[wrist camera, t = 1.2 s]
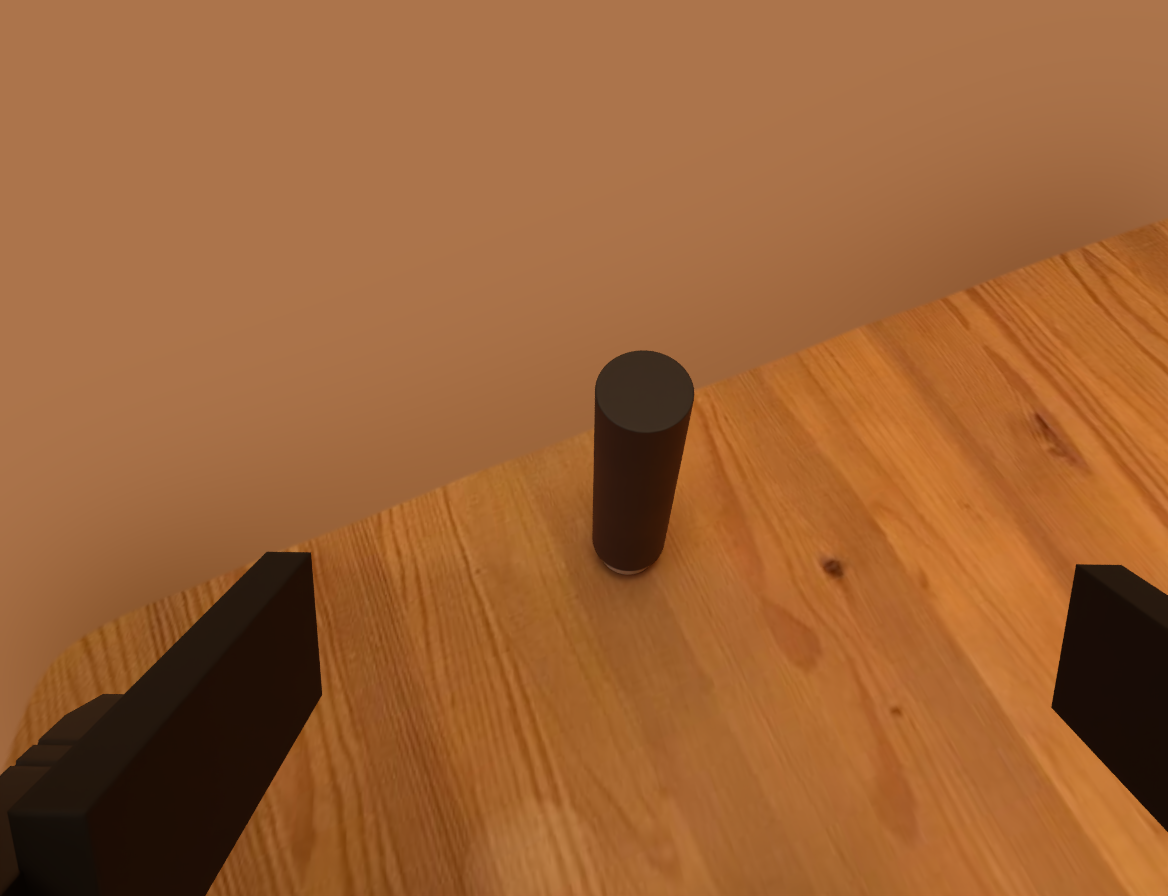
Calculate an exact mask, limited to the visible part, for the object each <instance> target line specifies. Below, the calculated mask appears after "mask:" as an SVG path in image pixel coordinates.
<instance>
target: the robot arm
mask: <svg viewBox="0 0 1168 896" xmlns="http://www.w3.org/2000/svg"><path fill="white" fill-rule="evenodd" d="M321 696H322V686H321V674H320V661H319V648H318V636H317V623H316V610H315V598H314V585H313V573H312V560H311V553H309V552H266V553H265V554H264V555H263V556H262V557H261V558H260V559H259V560H258V561H257V562H256V563H255V564H254V565H253V566H252V567H251V568H250V569H249V570H248V571H247V572H246V573H245V574H244V575H243V576H242V577H241V578H240V579H239V580H238V581H237V582H236V583H235V584H234V585H233V586H232V587H231V588H230V589H229V590H228V591H227V592H226V593H225V594H224V595H223V596H222V597H221V598H220V599H219V600H218V601H217V602H216V603H215V604H214V605H213V606H212V607H211V608H210V609H209V610H208V611H207V612H206V613H205V614H204V615H203V616H202V617H201V618H200V619H199V620H198V621H197V622H196V623H195V624H194V625H193V626H192V627H191V628H190V629H189V630H188V631H187V632H186V633H185V634H184V635H183V636H182V637H181V638H180V639H179V640H178V641H177V642H176V643H175V644H174V645H173V646H172V647H171V648H170V649H169V650H168V651H167V652H166V653H165V654H164V655H163V656H162V657H161V658H160V659H159V660H158V661H157V662H156V663H155V664H154V665H153V666H152V667H151V668H150V669H149V670H148V671H147V672H146V673H145V674H144V675H143V676H142V677H141V678H140V679H139V680H138V681H137V682H136V683H135V684H134V685H133V686H132V687H131V688H130V689H129V690H128V691H127V692H126V693H125V694H102V695H101V696H99V697H97V698H95V699H93V700H92V701H90V702H88V703H86V704H84V705H83V706H81V707H79V708H77V709H75V710H74V711H72V712H70V713H68V714H66V715H65V716H64V717H63V718H62V719H61V720H60V721H58V722H57V723H56V724H55V725H54V726H53V727H52V728H51V729H50V730H49V731H48V732H47V733H46V734H44V735H43V736H42V737H41V738H40V739H39V742H38V745H33V746H32V747H30V748H29V749H28V750H27V751H26V752H25V753H24V754H23V755H22V756H21V757H20V758H19V759H18V760H16V765H15V766H10V767H9V768H8V769H7V770H6V771H5V772H3V773H2V774H1V775H0V896H205V895H206V893H207V892H208V890H209V888H210V887H211V885H212V883H213V881H214V880H215V878H216V876H217V875H218V873H219V871H220V869H221V868H222V866H223V864H224V862H225V861H226V859H227V857H228V856H229V854H230V852H231V850H232V849H233V847H234V845H235V844H236V842H237V840H238V838H239V837H240V835H241V833H242V832H243V830H244V828H245V826H246V825H247V823H248V821H249V820H250V818H251V816H252V814H253V813H254V811H255V809H256V807H257V806H258V804H259V802H260V801H261V799H262V797H263V795H264V794H265V792H266V790H267V789H268V787H269V785H270V783H271V782H272V780H273V778H274V777H275V775H276V773H277V771H278V770H279V768H280V766H281V764H282V763H283V761H284V759H285V758H286V756H287V754H288V752H289V751H290V749H291V747H292V746H293V744H294V742H295V740H296V739H297V737H298V735H299V734H300V732H301V730H302V728H303V727H304V725H305V723H306V721H307V720H308V718H309V716H310V715H311V713H312V711H313V709H314V708H315V706H316V704H317V703H318V701H319V699H320V697H321ZM1051 708H1052V709H1053V710H1054V711H1055V712H1056V713H1057V714H1058V715H1059V716H1060V717H1061V718H1062V719H1063V720H1064V721H1065V723H1066V724H1067V725H1068V726H1069V727H1070V728H1071V729H1072V730H1073V731H1074V732H1075V733H1076V734H1077V735H1078V736H1079V738H1080V739H1081V740H1082V741H1083V742H1084V743H1085V744H1086V745H1087V746H1088V747H1089V748H1090V749H1091V750H1092V751H1093V753H1094V754H1095V755H1096V756H1097V757H1098V758H1099V759H1100V760H1101V761H1102V762H1103V763H1104V764H1105V765H1106V766H1107V768H1108V769H1109V770H1110V771H1111V772H1112V773H1113V774H1114V775H1115V776H1116V777H1117V778H1118V779H1119V780H1120V781H1121V783H1122V784H1123V785H1124V786H1125V787H1126V788H1127V789H1128V790H1129V791H1130V792H1131V793H1132V794H1133V795H1134V796H1135V797H1136V799H1137V800H1138V801H1139V802H1140V803H1141V804H1142V805H1143V806H1144V807H1145V808H1146V809H1147V810H1148V811H1149V812H1150V814H1151V815H1152V816H1153V817H1154V818H1155V819H1156V820H1157V821H1158V822H1159V823H1160V824H1161V825H1162V826H1163V827H1164V829H1165V830H1166V831H1167V832H1168V595H1166V594H1165V593H1163V592H1162V591H1160V590H1159V589H1157V588H1156V587H1154V586H1153V585H1151V584H1149V583H1148V582H1146V581H1145V580H1143V579H1142V578H1140V577H1139V576H1137V575H1136V574H1134V573H1133V572H1131V571H1130V570H1128V569H1127V568H1125V567H1124V566H1122V565H1082V564H1076V569H1075V575H1074V580H1073V586H1072V592H1071V598H1070V603H1069V609H1068V615H1067V621H1066V626H1065V632H1064V638H1063V643H1062V649H1061V655H1060V661H1059V666H1058V672H1057V678H1056V684H1055V689H1054V695H1053V701H1052V707H1051Z"/></svg>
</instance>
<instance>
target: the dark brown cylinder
mask: <svg viewBox="0 0 1168 896" xmlns="http://www.w3.org/2000/svg"><path fill="white" fill-rule="evenodd" d="M693 401H694V387H693V383H692V380H691V378H690V376H689V374H688V373H687V372H686V370H685V369H684V368H683V367H682V366H681V365H680V364H679V363H678V362H677V361H675V360H674V359H672V358H671V357H669V356H666V355H664V354H661V353H658V352H653V351H634V352H629V353H625V354H623V355H620V356H618V357H616V358H615V359H613V360H612V361H610V362H609V363H608V364H607V365H606V366H605V367H604V368H603V369H602V371H601V372H600V374H599V376H598V378H597V381H596V386H595V428H594V482H593V537H592V539H593V545H594V548H595V551H596V553H597V554H598V556H599V557H600V558H601V559H602V560H603V562H604V563H605V565H606V566H607V567H608V568H610V569H611V570H613V571H615V572H617V573H620V574H625V575H630V574H636V573H639V572H641V571H643V570H645V569H646V568H647V567H648V566H650V565H651V564H652V563H654V562H655V561H656V560H657V558H658V557H659V556H660V554H661V552H662V550H663V547H664V543H665V538H666V533H667V528H668V523H669V518H670V513H671V508H672V504H673V499H674V494H675V489H676V484H677V479H678V474H679V469H680V464H681V460H682V455H683V450H684V445H685V440H686V435H687V430H688V425H689V420H690V416H691V411H692V406H693Z"/></svg>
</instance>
